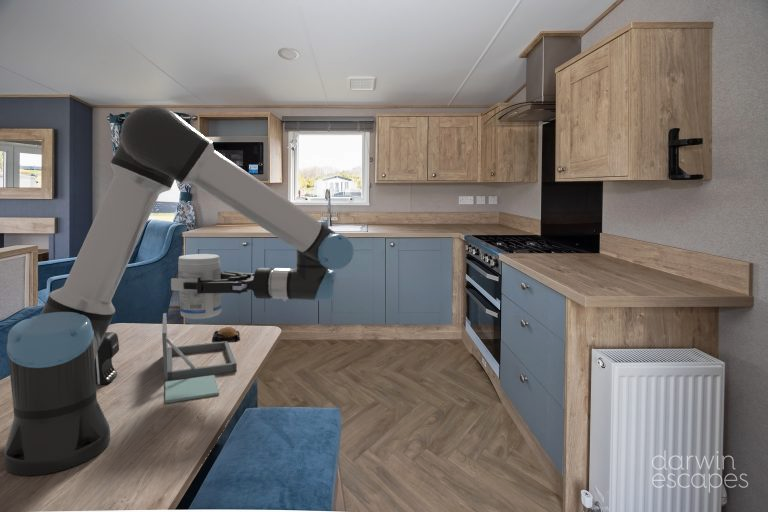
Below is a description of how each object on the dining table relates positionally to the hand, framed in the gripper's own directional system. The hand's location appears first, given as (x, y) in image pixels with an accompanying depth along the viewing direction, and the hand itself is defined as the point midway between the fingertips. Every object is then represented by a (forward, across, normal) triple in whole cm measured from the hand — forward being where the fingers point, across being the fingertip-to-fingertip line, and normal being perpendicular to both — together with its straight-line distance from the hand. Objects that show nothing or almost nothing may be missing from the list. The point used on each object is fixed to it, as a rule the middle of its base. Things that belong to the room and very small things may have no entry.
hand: (182, 280), depth 111 cm
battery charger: (+16, -5, -24) cm, 30 cm away
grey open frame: (-1, +8, -24) cm, 25 cm away
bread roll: (+1, +30, -25) cm, 39 cm away
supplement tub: (-4, 0, -9) cm, 10 cm away
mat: (-6, -9, -24) cm, 26 cm away
